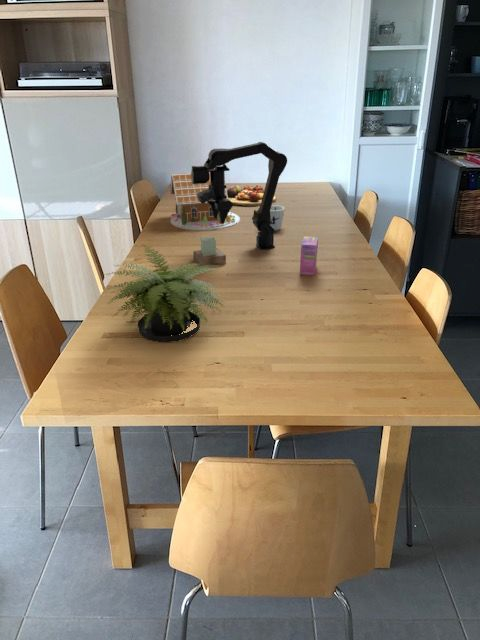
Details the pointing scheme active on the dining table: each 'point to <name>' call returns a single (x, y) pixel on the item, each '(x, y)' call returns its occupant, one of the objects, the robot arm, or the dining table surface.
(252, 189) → the wooden plate with food
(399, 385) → the dining table surface
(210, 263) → the walnut base
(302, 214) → the dining table surface
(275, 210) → the white cup
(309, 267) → the box
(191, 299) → the fern plant
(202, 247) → the green block
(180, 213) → the gingerbread house
